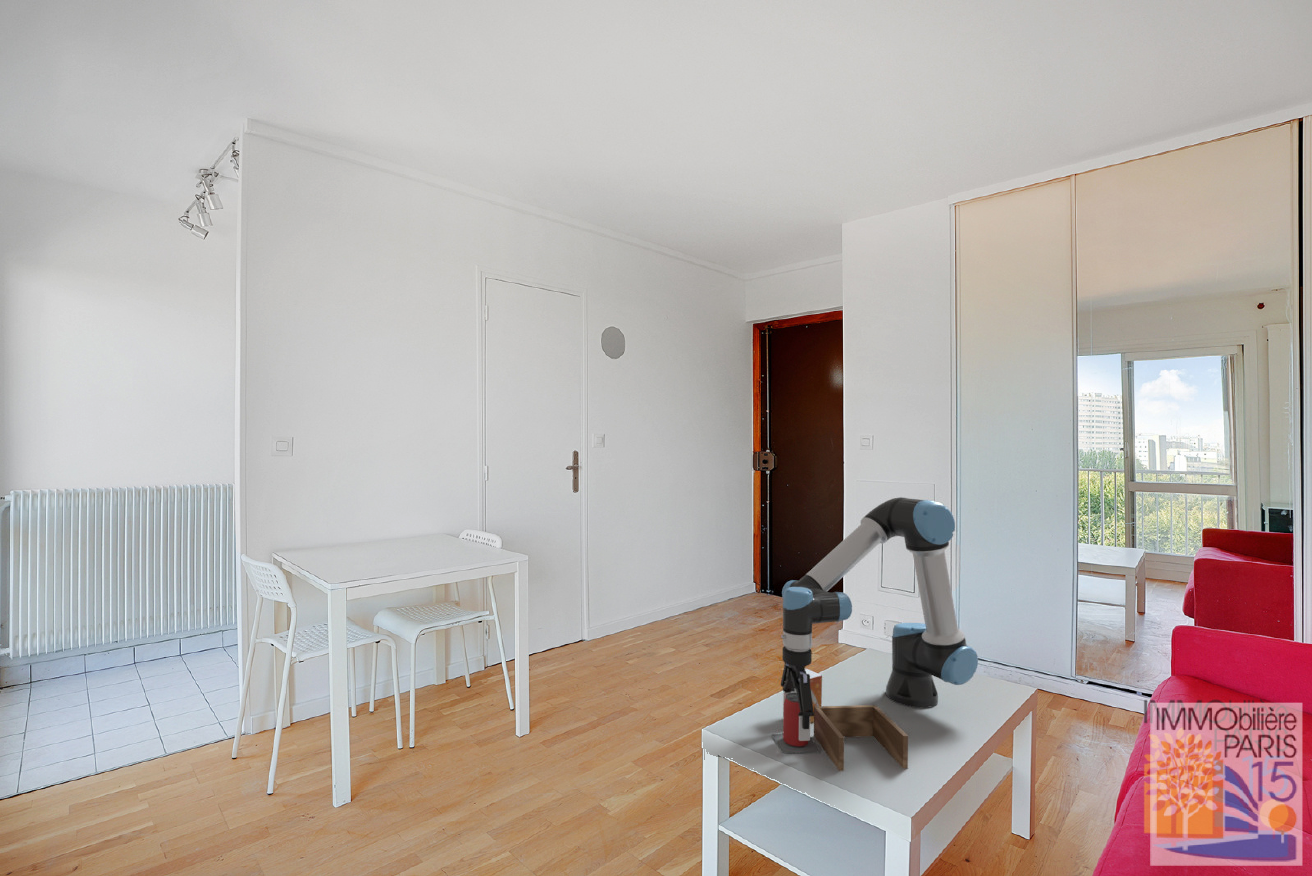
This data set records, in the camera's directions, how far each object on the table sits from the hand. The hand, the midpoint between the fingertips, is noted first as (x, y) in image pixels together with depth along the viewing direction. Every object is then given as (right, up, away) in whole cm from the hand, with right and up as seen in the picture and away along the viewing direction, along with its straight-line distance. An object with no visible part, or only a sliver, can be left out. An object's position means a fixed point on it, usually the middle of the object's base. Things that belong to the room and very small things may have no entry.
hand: (796, 728), depth 167 cm
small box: (+6, -5, +15) cm, 17 cm away
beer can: (0, -4, 0) cm, 4 cm away
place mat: (0, -4, 0) cm, 4 cm away
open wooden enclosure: (+15, -4, -4) cm, 17 cm away
